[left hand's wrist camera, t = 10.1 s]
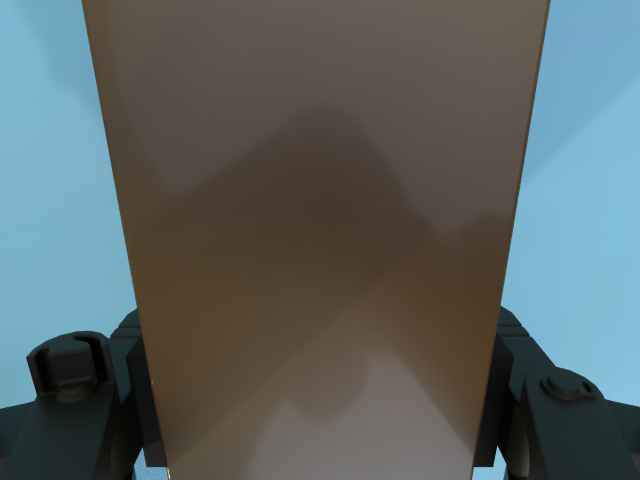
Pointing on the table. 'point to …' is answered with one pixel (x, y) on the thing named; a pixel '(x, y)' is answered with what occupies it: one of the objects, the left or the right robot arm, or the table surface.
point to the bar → (317, 222)
